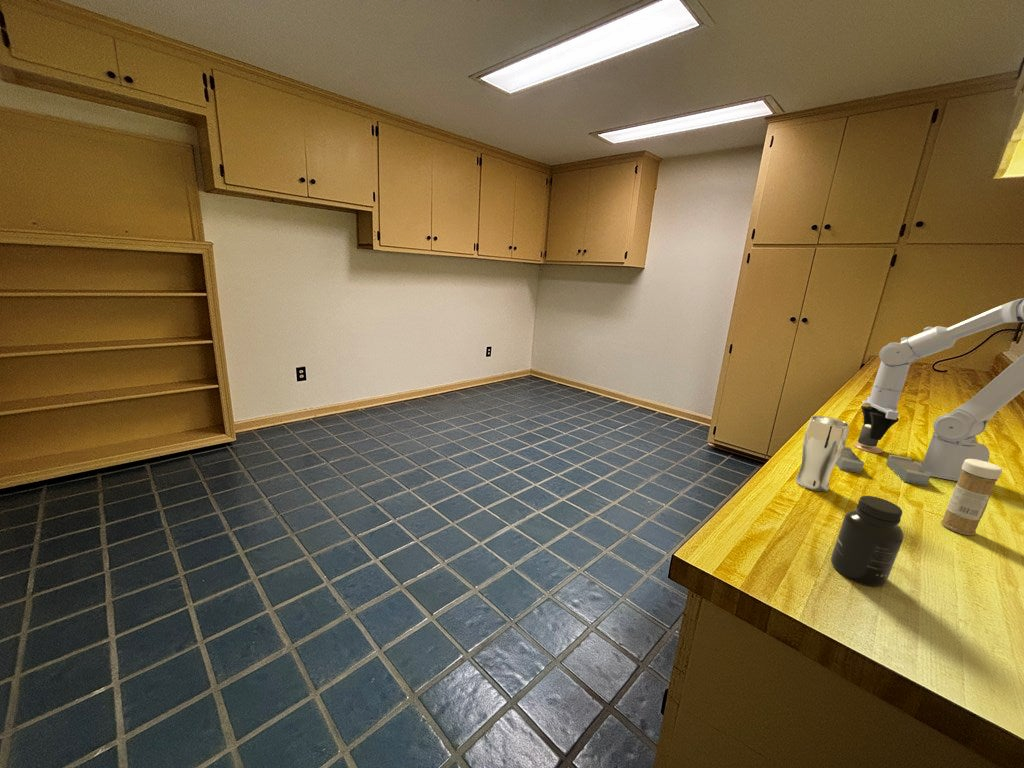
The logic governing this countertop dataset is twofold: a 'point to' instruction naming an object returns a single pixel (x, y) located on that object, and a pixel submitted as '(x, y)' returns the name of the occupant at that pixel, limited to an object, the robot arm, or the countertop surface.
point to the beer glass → (821, 451)
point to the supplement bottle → (868, 541)
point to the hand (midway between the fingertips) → (871, 436)
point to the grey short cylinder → (867, 436)
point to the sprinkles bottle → (971, 496)
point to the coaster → (868, 448)
